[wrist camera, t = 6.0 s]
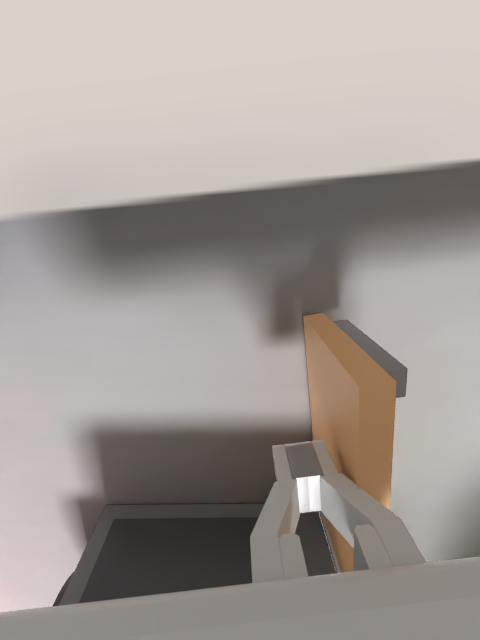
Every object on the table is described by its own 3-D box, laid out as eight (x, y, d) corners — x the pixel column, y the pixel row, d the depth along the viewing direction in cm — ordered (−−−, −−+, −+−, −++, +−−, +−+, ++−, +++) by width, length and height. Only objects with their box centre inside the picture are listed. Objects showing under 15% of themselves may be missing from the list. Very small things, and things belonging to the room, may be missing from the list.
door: (345, 504, 17) (400, 641, 11) (316, 507, 17) (357, 645, 11) (340, 310, 12) (426, 377, 7) (301, 316, 13) (355, 387, 7)
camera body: (315, 500, 17) (366, 672, 11) (299, 605, 21) (328, 776, 15) (74, 503, 17) (-30, 681, 10) (104, 608, 21) (44, 785, 14)
